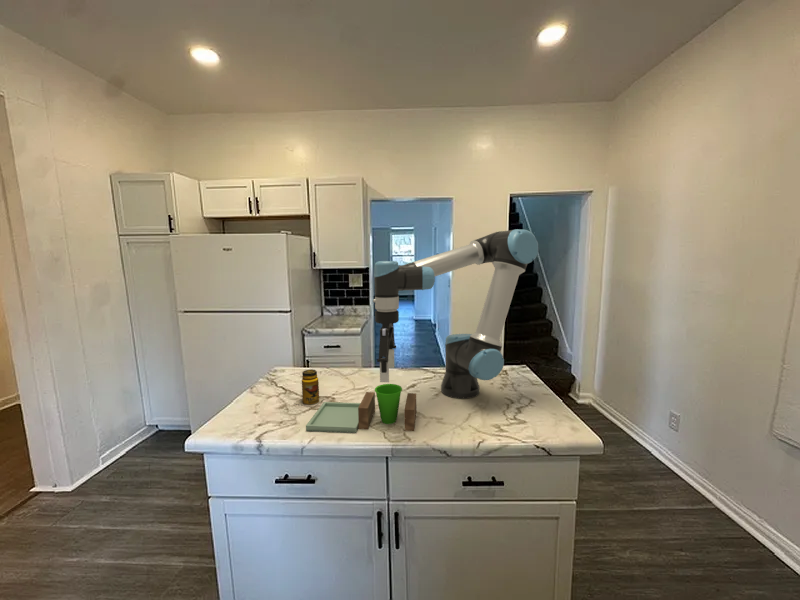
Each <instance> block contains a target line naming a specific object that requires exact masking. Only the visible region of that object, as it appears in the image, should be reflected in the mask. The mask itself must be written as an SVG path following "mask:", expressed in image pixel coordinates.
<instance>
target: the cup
mask: <svg viewBox="0 0 800 600" xmlns="http://www.w3.org/2000/svg"><path fill="white" fill-rule="evenodd" d="M374 392H375V394H376V395H375V396H376V400H377V404H378V405H377V406H378V411H379V415H380V416H379V417H380V420H381V422H382V423H383V424H386V425H392V424H395V423H396V422H397V420H398V414H399V407H400V402H401V394H402V392H403V387H402V386H401V385H399V384H395V383H383V384H379V385H376V386H375V388H374Z"/></svg>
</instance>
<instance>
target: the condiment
mask: <svg viewBox="0 0 800 600" xmlns="http://www.w3.org/2000/svg"><path fill="white" fill-rule="evenodd" d="M301 374H302V376H301V377H302V378H301V395H302V398H301V399H299V400H298V401H296V402H295V403H294V405H299V406H304V407H305V406H306V407H313V408H314V407H315V406H317V405H318V404H320V403H321V402H322V401H323V400H324V398H320V391H319V390H320V385H319V378H318V371H317V370H316V369H313V368H312V369H305V370H303V371H302V373H301Z"/></svg>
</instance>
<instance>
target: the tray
mask: <svg viewBox="0 0 800 600" xmlns="http://www.w3.org/2000/svg"><path fill="white" fill-rule="evenodd" d="M360 403H361V402H338V401H336V402H335V401H334V402H333V401H323V402H322V404H321V405H320V406H319V407H318V409H317V410H316V412H314V414H313V415H312V417H311V418H310V419H309V421H308V422H307V424H306V425H305V432H315V433H316V432H319V433H344V434H345V433H346V434H351V433H352V434H357V433H358V430H359V420H358V407H359V405H360Z"/></svg>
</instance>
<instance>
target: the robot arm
mask: <svg viewBox="0 0 800 600" xmlns="http://www.w3.org/2000/svg"><path fill="white" fill-rule="evenodd" d="M538 254H539V242H538V240H537V237H536V236H535V235H534V233H533V232H532V231H529V230H527V229H520V228H519V229H518V228H517V229H516V228H515V229H510V230H504V231H503V230H501V231H495V232H491V233H490V234H487V235H485V236H482V237H479V238H476V239H473V240H471V241H470V242H469V243H468V244H466V245H464V246H459V247H457V248H454V249H450V250H446V251H444V252H441V253H437V254H434V255H431V256H427V257H424V258H421V259H419V260H415V261H412V262H409V263H406V264H402V265H401V264H399V262H398V261H397V260H381V261H380V260H379V261H376V262H375V264H374V269H373V270H374V271H373V272H374V274H373V277H374V299H373V300H372V302H373V303H374V306H375V307H374V309H375V311H374V321H375V323H377V324H381V327H380V329H379V348H378V350H379V351H378V358H377V359H376V361H377V363H379V383H389V382H390V369H395V350H396V349H397V345H396V343H395V327H394V324H397V323H399V320H400V319H399V318H400V317H399V316H400V314H399V308H400V301H399V300H400V297H399V295H400V294H399V291H425V290H431V289H433V288H434V285H435V282H436V277H438V276H441V275H443V274H446V273H450V272H453V271H456V270H458V269H459V270H460V269H462V268H465V267H468V266H472V265H477V266H478V265H479V266H481V265H483V264H487V263H489V264H490V263H492V265H493V267H494V270H493V271H494V272H493V275H492V278H491V280H490V284H489V287H488V290H487V293H486V298H485V301H484V304H483V308H482V310H481V315H480V318H479V319H478V320H479V321H478V324H477V326H476V329H475V332H474V333H455V334H448V335H447V336H446V337H445V343H444V345H445V373H444V375H443V378H442V381H441V385H440V390H441V393H442V394H443V395H445V396H447V397H450V398H454V399H470V398H471V399H472V398H475V397H477V396H478V395H480V384H479V380H481V381H491V380H493V379H494V378H496V377H497V376H498V375H499V374H501V372H502V370H503V368H504V366H505V359H504V355H503V354H502V348H503V344H502V343H501V341H500V340H501V335H502V332H503V329H504V326H505V322H506V318H507V316H508V313H509V310H510V307H511V306H510V305H511V303H512V300H513V296H514V293H515V289H516V286H517V285H518V280H519V276H521V275H522V274H523V273H525V272H526V269H527V266H528V264H530V263H532V262H533V261H535V260H536V258H537V256H538Z"/></svg>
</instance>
